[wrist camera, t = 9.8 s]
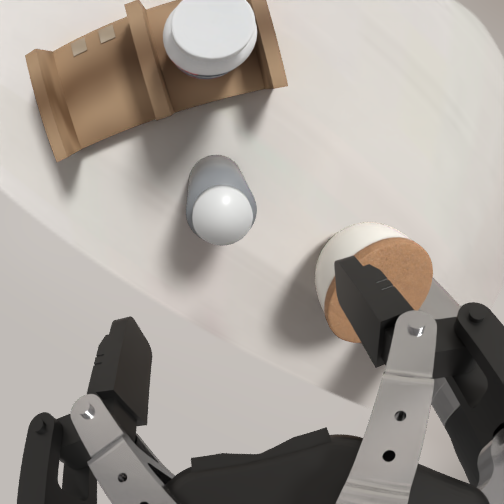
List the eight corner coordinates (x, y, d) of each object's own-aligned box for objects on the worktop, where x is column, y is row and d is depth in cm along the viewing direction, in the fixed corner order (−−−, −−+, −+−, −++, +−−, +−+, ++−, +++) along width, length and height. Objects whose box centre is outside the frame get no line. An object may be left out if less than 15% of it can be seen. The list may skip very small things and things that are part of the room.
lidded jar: (359, 303, 35) (396, 359, 27) (282, 282, 31) (310, 349, 23) (408, 226, 31) (461, 272, 23) (333, 188, 27) (386, 234, 19)
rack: (274, 86, 22) (288, 85, 18) (76, 151, 21) (56, 162, 18) (248, -12, 17) (257, -28, 14) (48, 58, 17) (25, 55, 13)
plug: (247, 197, 26) (266, 239, 19) (197, 211, 26) (198, 259, 19) (234, 148, 24) (250, 173, 17) (182, 164, 24) (175, 195, 17)
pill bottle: (162, 73, 19) (141, 61, 11) (182, 11, 17) (173, -31, 9) (232, 87, 21) (250, 83, 13) (251, 26, 18) (280, -8, 11)
